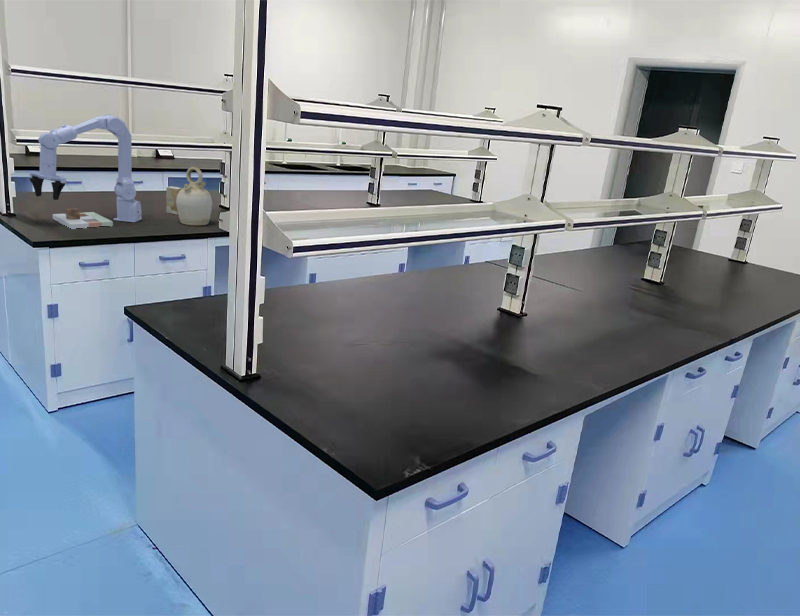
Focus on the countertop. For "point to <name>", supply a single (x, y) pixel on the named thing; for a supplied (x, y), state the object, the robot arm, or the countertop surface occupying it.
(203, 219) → the jug
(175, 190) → the skincare box
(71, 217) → the walnut block
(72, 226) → the trap board
